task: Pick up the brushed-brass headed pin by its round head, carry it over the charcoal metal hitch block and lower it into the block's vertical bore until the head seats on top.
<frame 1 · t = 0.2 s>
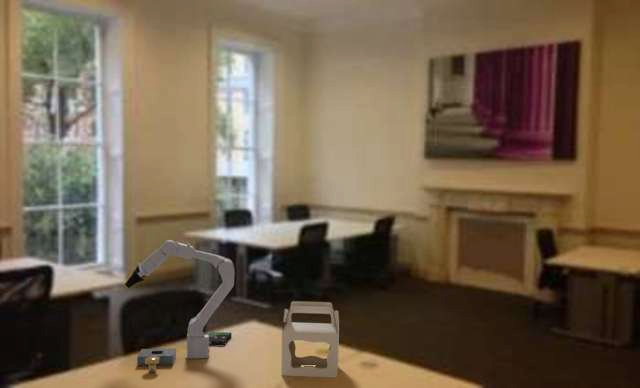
hand: (128, 284, 248), 31 cm above the table, tool tilted 45°, fingers open, 7 cm apart
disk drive: (217, 342, 276), on the table
gable box: (310, 371, 237), on the table
hitch block: (157, 362, 245), on the table
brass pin: (152, 371, 233), on the table
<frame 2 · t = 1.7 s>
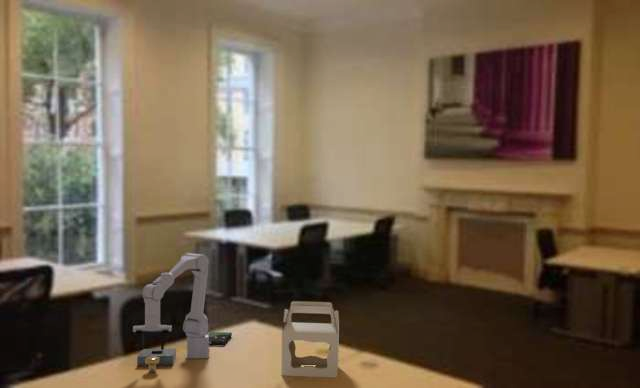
hand: (152, 349, 232), 9 cm above the table, tool pointing down, fingers open, 7 cm apart
nothing on the table moved.
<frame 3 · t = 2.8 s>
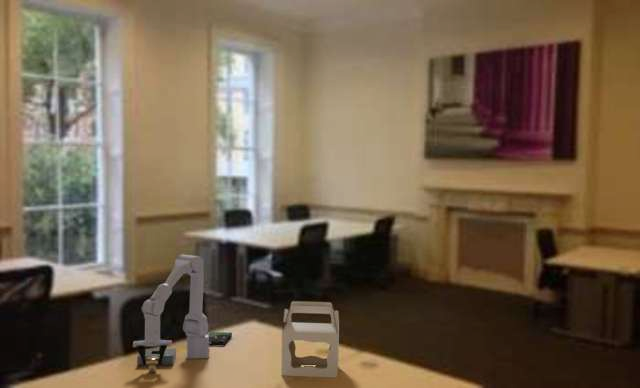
hand: (152, 364, 233), 3 cm above the table, tool pointing down, fingers closed on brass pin, 6 cm apart
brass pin: (152, 371, 233), on the table, touching gripper
everything else where it was.
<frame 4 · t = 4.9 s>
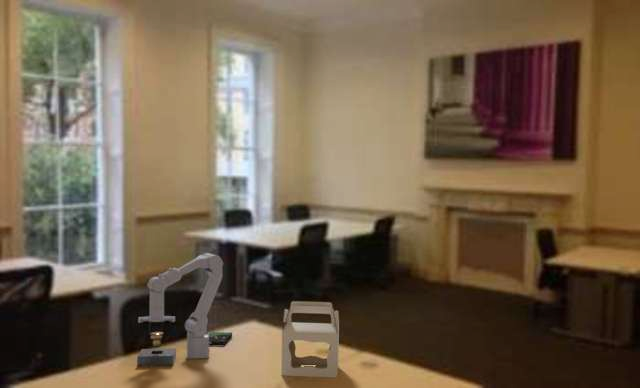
hand: (156, 339, 243), 10 cm above the table, tool pointing down, fingers closed on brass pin, 6 cm apart
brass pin: (156, 346, 243), point 7 cm above the table, touching gripper
everything else where it was.
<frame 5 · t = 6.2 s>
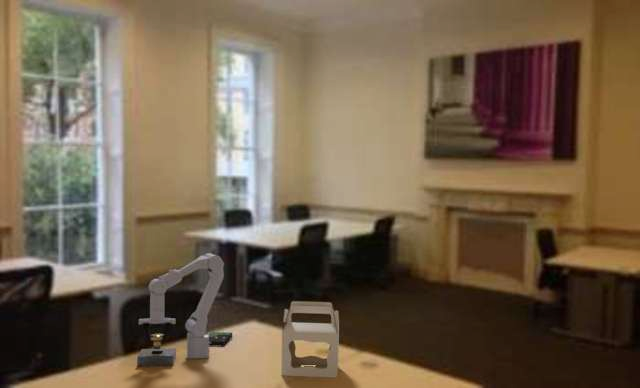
hand: (157, 341, 244), 9 cm above the table, tool pointing down, fingers closed on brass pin, 6 cm apart
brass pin: (157, 348, 244), point 6 cm above the table, touching gripper
everything else where it was.
when the fingers open (9 cm above the table, at t = 7.2 s): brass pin drops 6 cm, resting on hitch block.
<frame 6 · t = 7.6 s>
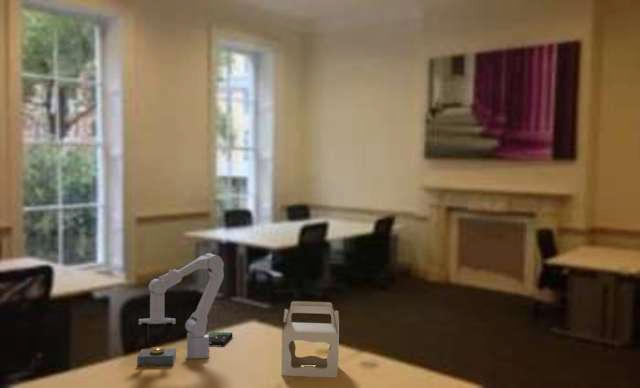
hand: (157, 341, 244), 9 cm above the table, tool pointing down, fingers open, 7 cm apart
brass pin: (157, 361, 245), resting on hitch block
everything else where it was.
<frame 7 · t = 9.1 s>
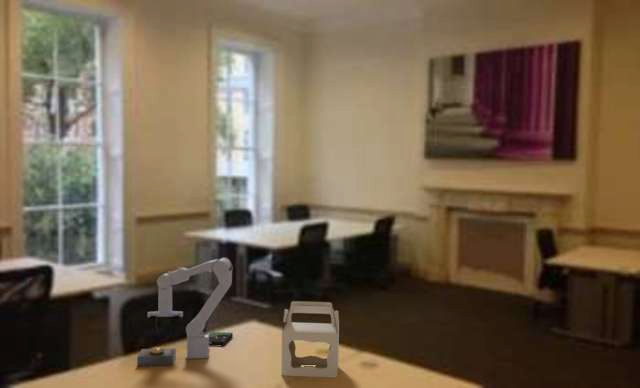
hand: (165, 333, 253), 9 cm above the table, tool pointing down, fingers open, 7 cm apart
nothing on the table moved.
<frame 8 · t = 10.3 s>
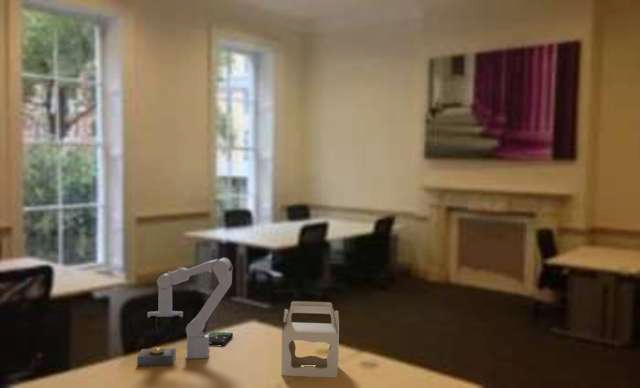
hand: (165, 333, 253), 9 cm above the table, tool pointing down, fingers open, 7 cm apart
nothing on the table moved.
at the end: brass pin 0.0 cm off-centre on the hitch block, point 0.2 cm above the hitch block's base; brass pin tilted 0°; the gripper is holding nothing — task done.
